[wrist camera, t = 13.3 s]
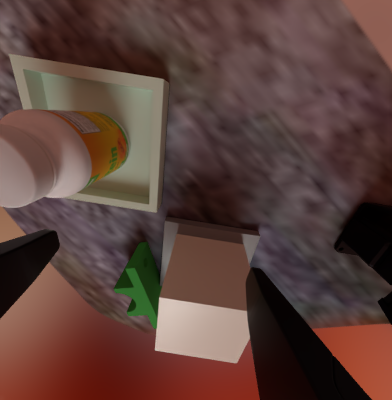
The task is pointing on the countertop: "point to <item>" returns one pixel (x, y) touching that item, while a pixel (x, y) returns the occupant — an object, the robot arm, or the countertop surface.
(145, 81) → the tray
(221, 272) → the plain beige box
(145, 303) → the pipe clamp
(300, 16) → the countertop surface
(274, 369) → the robot arm
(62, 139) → the supplement bottle
